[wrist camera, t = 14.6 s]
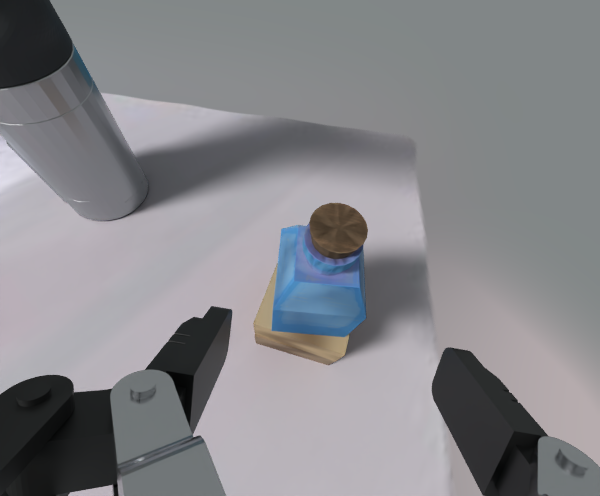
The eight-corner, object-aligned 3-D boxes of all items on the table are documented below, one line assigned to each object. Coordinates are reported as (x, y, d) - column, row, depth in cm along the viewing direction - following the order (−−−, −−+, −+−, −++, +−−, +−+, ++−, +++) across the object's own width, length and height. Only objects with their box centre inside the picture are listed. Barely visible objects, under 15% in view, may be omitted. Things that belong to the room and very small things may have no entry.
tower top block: (255, 333, 28) (253, 323, 25) (282, 262, 32) (284, 245, 29) (335, 361, 28) (344, 355, 24) (353, 286, 32) (364, 271, 28)
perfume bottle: (271, 330, 25) (274, 274, 14) (278, 263, 28) (285, 175, 17) (344, 337, 25) (401, 287, 14) (344, 270, 28) (390, 188, 17)
